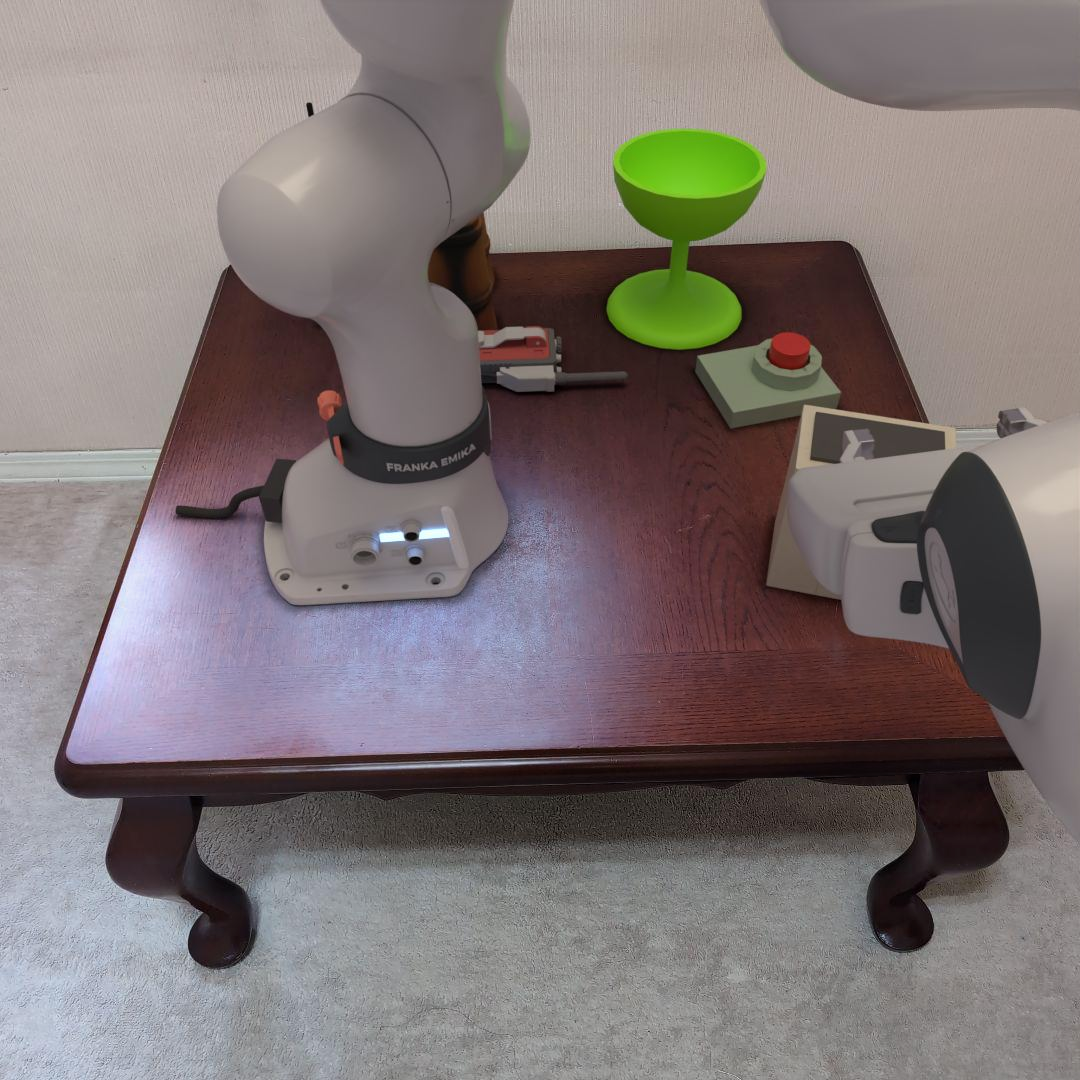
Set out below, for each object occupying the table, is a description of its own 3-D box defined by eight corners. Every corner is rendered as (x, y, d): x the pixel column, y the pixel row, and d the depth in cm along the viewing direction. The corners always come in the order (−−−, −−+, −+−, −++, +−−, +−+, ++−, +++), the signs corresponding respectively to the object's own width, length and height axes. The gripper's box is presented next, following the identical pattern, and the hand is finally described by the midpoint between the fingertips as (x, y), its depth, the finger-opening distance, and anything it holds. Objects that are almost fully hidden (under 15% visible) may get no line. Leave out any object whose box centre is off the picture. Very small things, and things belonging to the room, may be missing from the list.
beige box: (765, 585, 83) (796, 464, 73) (774, 522, 88) (804, 400, 78) (907, 612, 81) (960, 491, 70) (908, 546, 86) (957, 423, 76)
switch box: (730, 429, 97) (735, 398, 95) (694, 372, 104) (698, 341, 101) (836, 408, 99) (845, 378, 97) (795, 354, 106) (802, 323, 103)
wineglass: (589, 284, 116) (593, 139, 103) (710, 265, 119) (730, 120, 106) (631, 359, 106) (642, 208, 93) (764, 336, 108) (793, 186, 95)
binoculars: (428, 265, 120) (411, 103, 105) (493, 262, 120) (485, 101, 105) (425, 351, 107) (405, 181, 93) (498, 347, 108) (490, 178, 93)
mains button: (777, 374, 98) (781, 357, 96) (761, 351, 100) (765, 335, 99) (813, 367, 99) (817, 351, 97) (796, 345, 101) (800, 329, 100)
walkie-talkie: (441, 399, 101) (628, 392, 102) (437, 365, 98) (630, 358, 99) (443, 350, 107) (619, 344, 108) (440, 317, 104) (621, 310, 105)
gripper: (1257, 492, 45) (1116, 359, 56) (822, 545, 47) (767, 407, 58) (1220, 591, 49) (1094, 449, 60) (819, 637, 51) (768, 490, 62)
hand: (931, 428), depth 59 cm, fingers open, 8 cm apart
